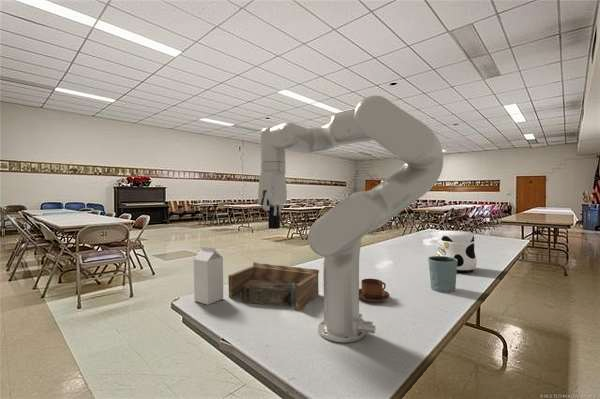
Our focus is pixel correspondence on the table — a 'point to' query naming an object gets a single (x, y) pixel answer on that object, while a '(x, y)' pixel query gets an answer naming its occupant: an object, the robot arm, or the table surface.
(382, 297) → the cup and saucer
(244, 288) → the beverage carton
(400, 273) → the table surface
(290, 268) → the frame
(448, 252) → the milk container
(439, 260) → the teal cup
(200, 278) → the milk carton
